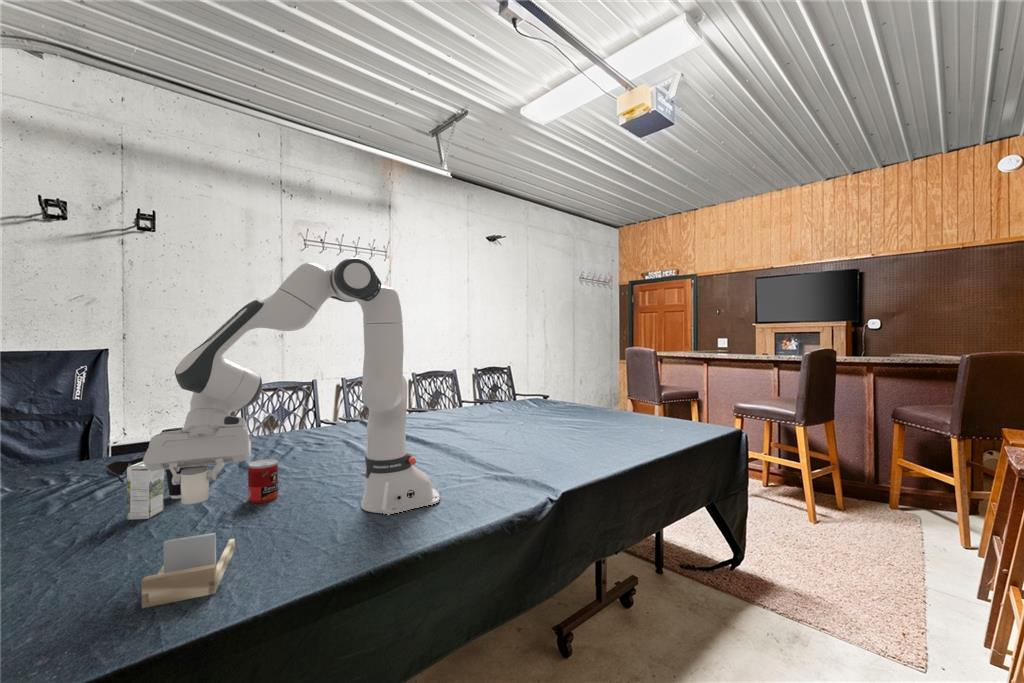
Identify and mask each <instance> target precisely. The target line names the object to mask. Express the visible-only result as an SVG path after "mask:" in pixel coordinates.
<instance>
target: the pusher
mask: <svg viewBox="0 0 1024 683" xmlns="http://www.w3.org/2000/svg"><path fill="white" fill-rule="evenodd" d="M162 545H163V548H162V549H163V565H164V573H168V572H174V571H179V570H185V569H190V568H196V567H202V566H207V565H213V564H216V565H217V533H216V532H212V533H204V534H197V535H190V536H183V537H178V538H177V537H176V538H173V539H172V538H171V539H167V540H166V539H165V540H164V541H163V544H162Z"/></svg>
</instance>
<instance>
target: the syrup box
mask: <svg viewBox="0 0 1024 683" xmlns="http://www.w3.org/2000/svg"><path fill="white" fill-rule="evenodd" d="M163 511H165V470H155V471H149V470H148V469H147V468H146V467H145V465H144V463H143V461H142V462H140V463H137V464H134V465H132V466H131V465H128V467H127V469H126V520H129V521H130V520H149V519H151V518H153V517H155V516H156V515H158V514H160V513H162V512H163Z"/></svg>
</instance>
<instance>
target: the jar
mask: <svg viewBox="0 0 1024 683" xmlns="http://www.w3.org/2000/svg"><path fill="white" fill-rule="evenodd" d="M208 466H209V465H203V466H194V467H189V468H185V469H183V470H181V498H180V503H181V504H182V505H193V504H194V505H195V504H199V503H201V502H205V501H207V500H209V499H210V489H209V488H210V487H209V486H210V484H209V483H210V482H209V481H208V479H207V475H208V471H209V467H208Z"/></svg>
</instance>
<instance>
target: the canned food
mask: <svg viewBox="0 0 1024 683" xmlns="http://www.w3.org/2000/svg"><path fill="white" fill-rule="evenodd" d="M278 462H279V461H278V460H277V459H270V458H266V459H260V460H254V461H251V462H249V463H248V466H247V470H248V471H247V473H248V474H247V481H248V484H247V486H248V487H247V488H248V500H249V502H250V503H252V504H264V503H267V502H268V503H269V502H271V501H274V500H275V499H277V497H278V494H279V481H278V480H279V477H278V476H279V465H278Z"/></svg>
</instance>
